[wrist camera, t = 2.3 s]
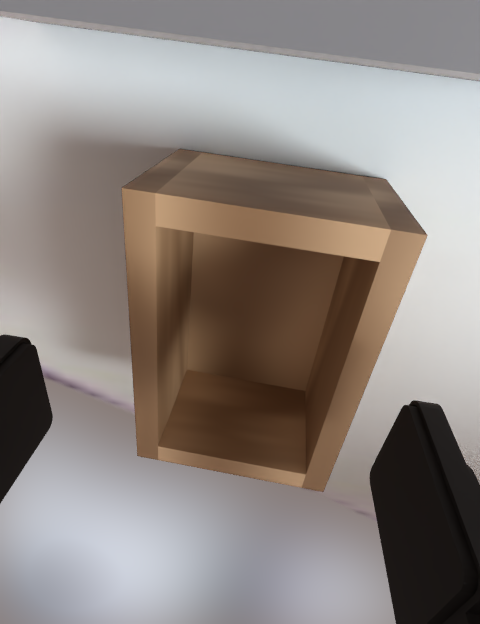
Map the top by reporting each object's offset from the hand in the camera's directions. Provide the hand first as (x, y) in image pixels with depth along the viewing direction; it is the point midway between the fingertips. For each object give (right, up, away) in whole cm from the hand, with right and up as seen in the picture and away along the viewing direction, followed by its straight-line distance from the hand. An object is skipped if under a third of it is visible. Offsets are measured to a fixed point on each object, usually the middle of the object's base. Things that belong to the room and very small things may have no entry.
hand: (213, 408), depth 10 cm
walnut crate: (+2, +3, +6) cm, 7 cm away
